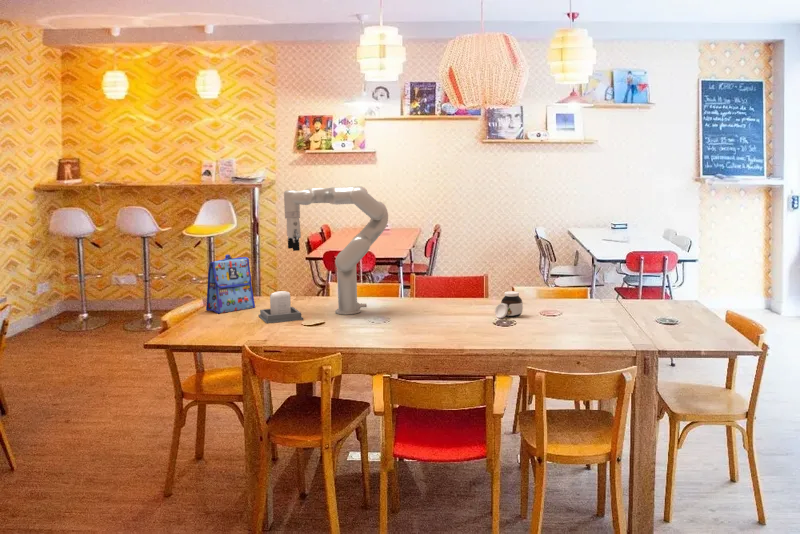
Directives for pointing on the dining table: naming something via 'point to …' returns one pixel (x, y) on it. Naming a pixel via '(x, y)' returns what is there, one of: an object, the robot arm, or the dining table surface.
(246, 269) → the lunch bag
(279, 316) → the tray
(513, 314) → the spread jar
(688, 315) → the dining table surface
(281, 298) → the photo printer
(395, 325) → the dining table surface
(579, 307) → the dining table surface
